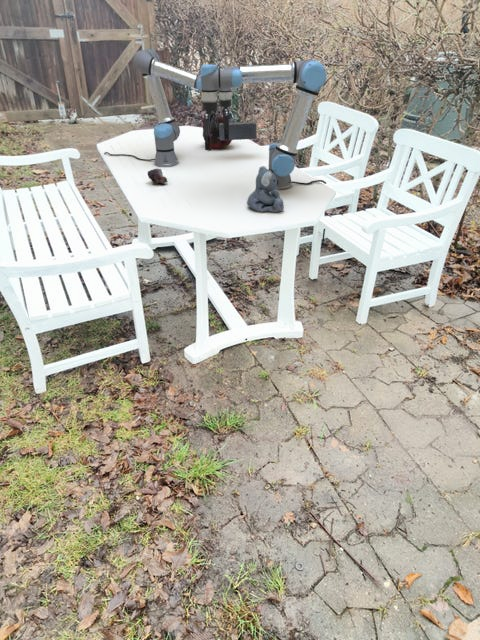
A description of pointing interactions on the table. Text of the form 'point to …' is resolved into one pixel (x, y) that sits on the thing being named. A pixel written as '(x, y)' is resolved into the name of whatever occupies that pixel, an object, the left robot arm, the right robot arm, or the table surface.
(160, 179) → the rock
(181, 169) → the table surface
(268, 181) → the koala plush
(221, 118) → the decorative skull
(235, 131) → the bar
